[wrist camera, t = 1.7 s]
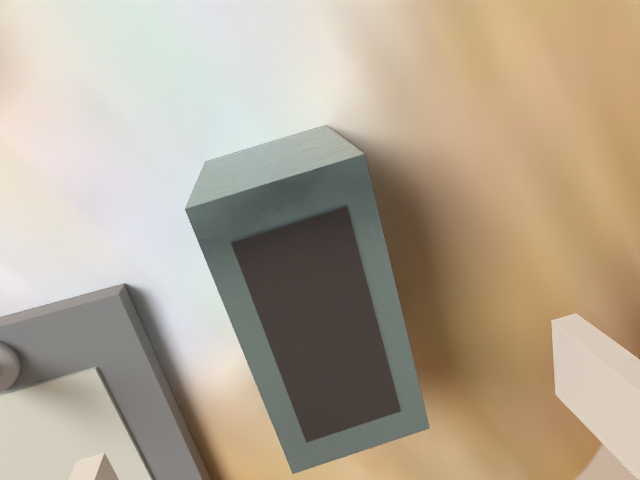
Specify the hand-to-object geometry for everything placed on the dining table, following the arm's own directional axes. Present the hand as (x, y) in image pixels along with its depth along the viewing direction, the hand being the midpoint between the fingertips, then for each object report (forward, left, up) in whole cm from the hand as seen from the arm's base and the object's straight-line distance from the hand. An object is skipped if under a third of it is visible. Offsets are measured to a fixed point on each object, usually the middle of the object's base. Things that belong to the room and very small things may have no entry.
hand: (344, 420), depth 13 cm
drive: (0, 0, -12) cm, 12 cm away
